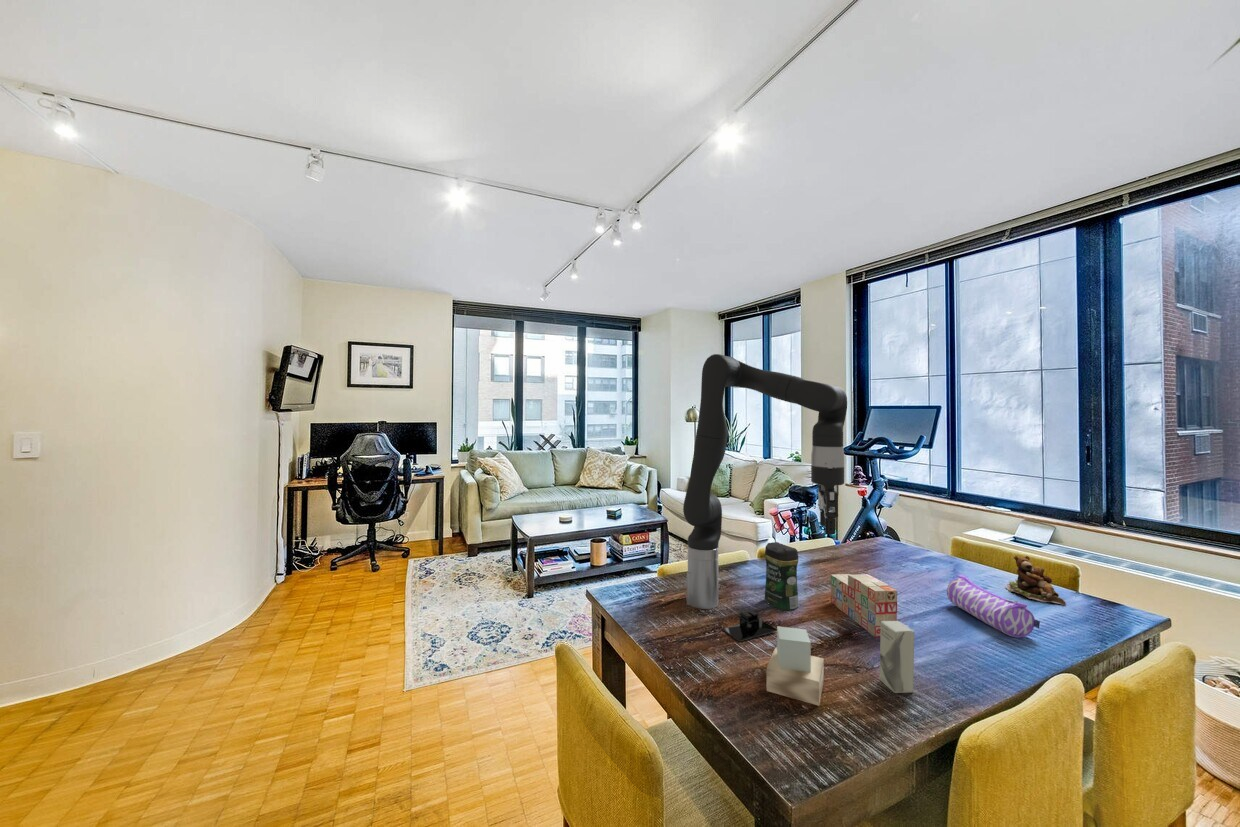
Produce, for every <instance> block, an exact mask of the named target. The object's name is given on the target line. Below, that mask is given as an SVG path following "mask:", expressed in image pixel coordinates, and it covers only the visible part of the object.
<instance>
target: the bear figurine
mask: <svg viewBox="0 0 1240 827" xmlns="http://www.w3.org/2000/svg"><path fill="white" fill-rule="evenodd" d="M1030 559H1031V558H1030V556H1028V555H1026V556H1025V557H1018V556H1017V555H1016V556H1013V560H1015V563H1016V567H1017V571H1016V573H1017V575H1018V576H1017V579H1015V580H1014V581H1013V580H1011V581H1008V583H1007V585H1006V586H1005V588H1006V590H1007V591H1009V592H1010V593H1012V592H1014V593H1017V594H1020V595H1022V596H1024V597H1026V598H1028V599H1030V600H1031V599H1032V600H1034V601H1038V602H1040V603H1053V604H1059V605H1062V606H1067V603H1066V600H1064V599H1063V598H1061V597H1060V595H1059V593H1058V592H1057V591H1055V587H1054V586H1053V585H1052V583H1053V580H1052V577H1050V576H1048V575H1045V574H1044V572H1045V567H1042V568H1041V567H1040V566H1033V564H1032V561H1030Z"/></svg>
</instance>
